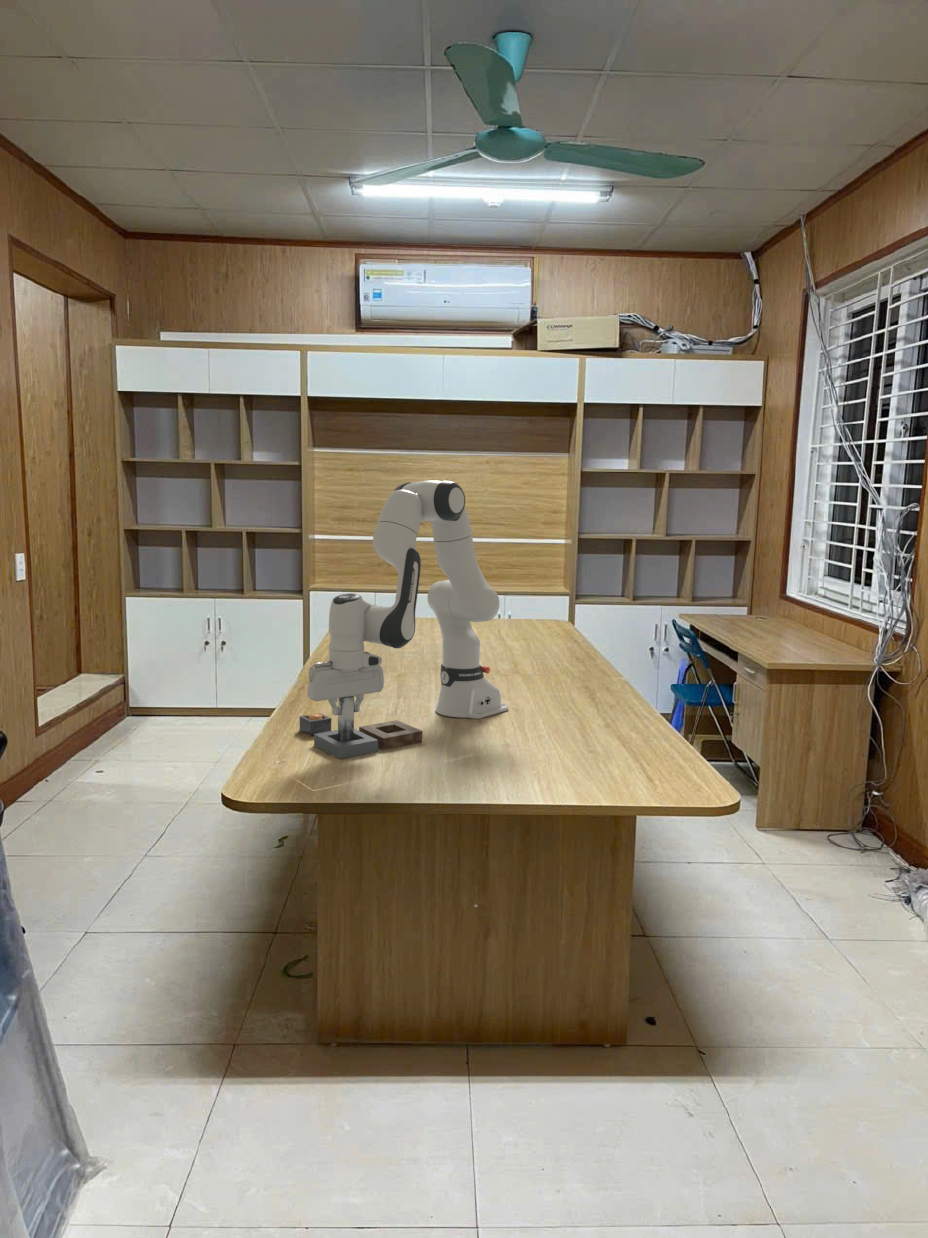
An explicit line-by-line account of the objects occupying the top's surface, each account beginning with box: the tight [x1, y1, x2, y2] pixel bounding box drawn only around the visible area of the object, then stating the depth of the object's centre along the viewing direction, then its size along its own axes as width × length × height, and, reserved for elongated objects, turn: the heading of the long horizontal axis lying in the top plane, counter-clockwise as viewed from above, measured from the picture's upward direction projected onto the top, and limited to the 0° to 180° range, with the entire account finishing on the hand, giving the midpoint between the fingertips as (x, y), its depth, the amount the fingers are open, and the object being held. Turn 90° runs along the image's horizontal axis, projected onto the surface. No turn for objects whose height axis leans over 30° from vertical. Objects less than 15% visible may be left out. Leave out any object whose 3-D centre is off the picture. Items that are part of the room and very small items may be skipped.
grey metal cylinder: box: [337, 696, 355, 743], centre depth 213 cm, size 4×4×12 cm
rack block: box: [313, 728, 379, 760], centre depth 214 cm, size 11×13×3 cm
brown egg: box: [308, 713, 322, 720], centre depth 227 cm, size 4×4×4 cm
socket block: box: [358, 720, 424, 750], centre depth 222 cm, size 12×12×3 cm
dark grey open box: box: [299, 712, 332, 737], centre depth 228 cm, size 6×6×4 cm
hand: (346, 713), depth 213 cm, fingers closed on grey metal cylinder, 4 cm apart
